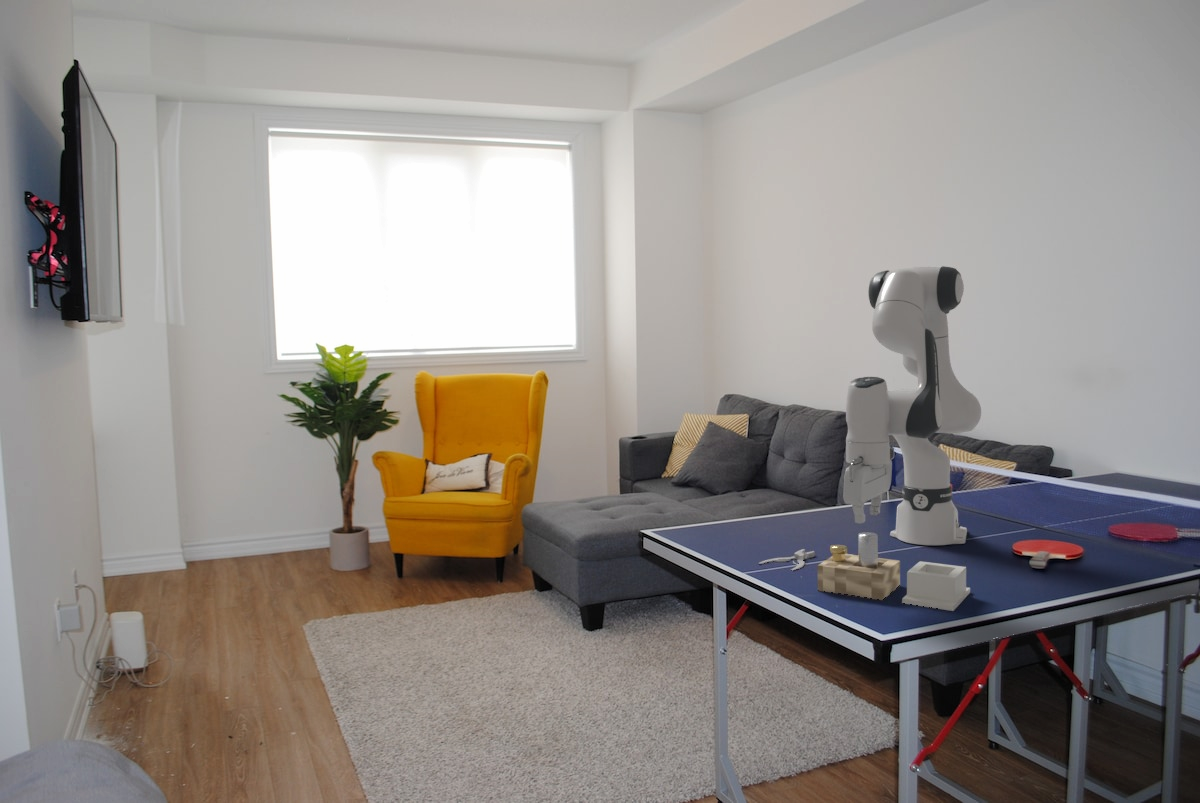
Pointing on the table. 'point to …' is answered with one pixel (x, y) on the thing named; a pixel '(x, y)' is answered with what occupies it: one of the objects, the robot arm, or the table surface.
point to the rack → (936, 585)
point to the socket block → (859, 577)
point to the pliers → (798, 555)
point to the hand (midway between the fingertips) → (867, 518)
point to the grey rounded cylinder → (868, 550)
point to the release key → (838, 552)
